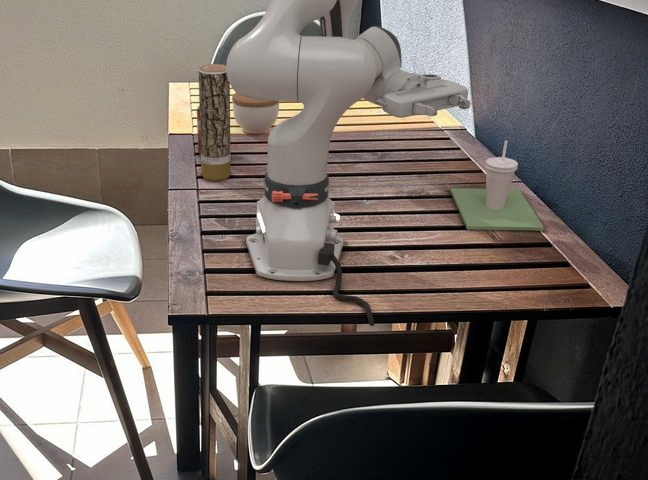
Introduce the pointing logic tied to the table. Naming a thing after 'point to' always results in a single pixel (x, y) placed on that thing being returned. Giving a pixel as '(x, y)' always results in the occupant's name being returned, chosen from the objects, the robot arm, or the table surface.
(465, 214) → the pad
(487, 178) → the smoothie
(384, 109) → the robot arm
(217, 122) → the paper tube
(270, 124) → the lidded bowl
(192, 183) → the table surface
